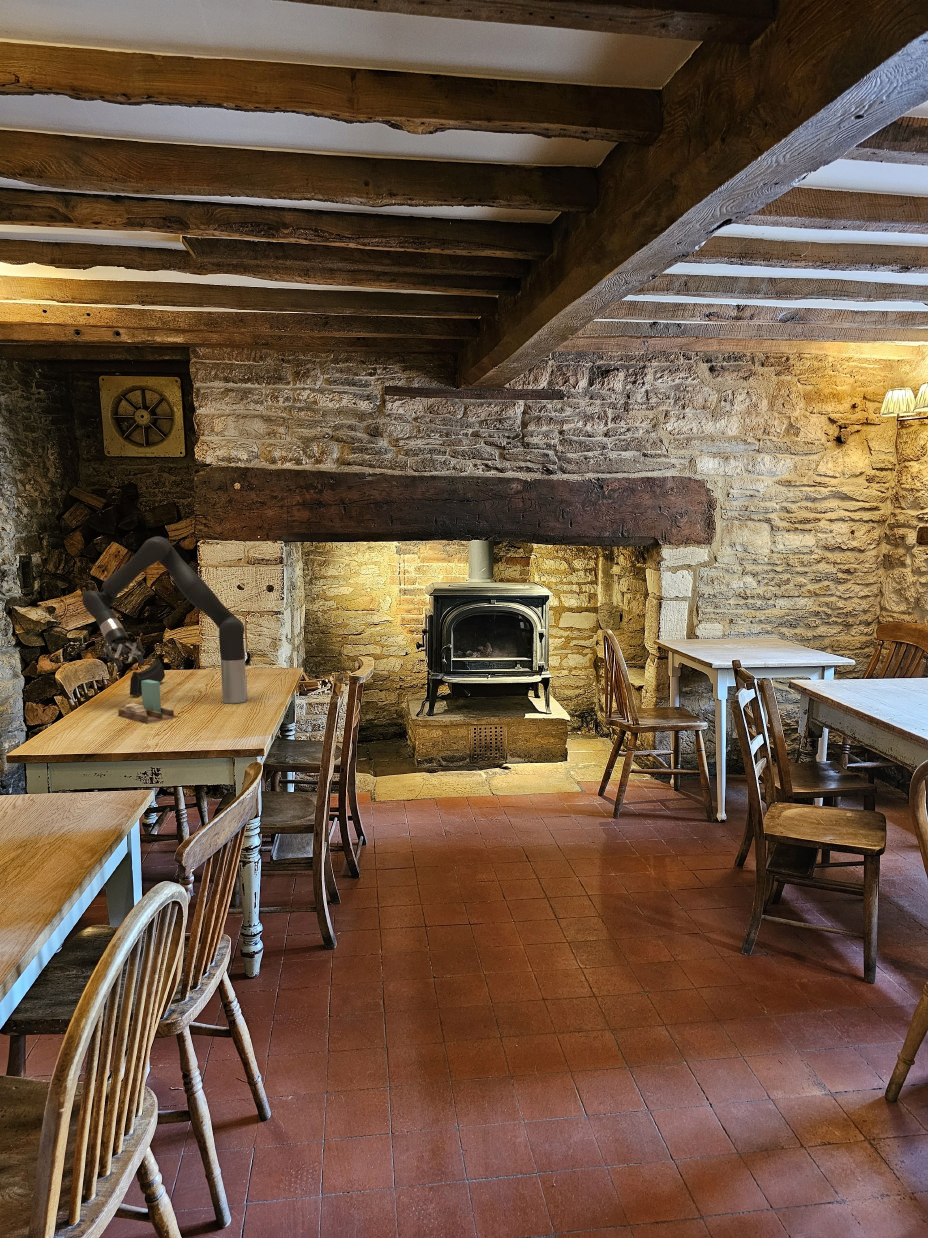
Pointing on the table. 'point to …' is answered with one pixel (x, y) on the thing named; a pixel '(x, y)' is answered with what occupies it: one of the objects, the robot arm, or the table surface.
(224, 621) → the robot arm
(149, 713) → the walnut rack
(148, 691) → the teal board
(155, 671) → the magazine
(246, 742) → the table surface
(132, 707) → the offcut stack
